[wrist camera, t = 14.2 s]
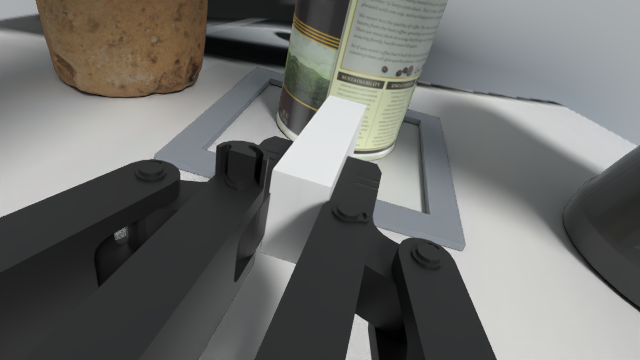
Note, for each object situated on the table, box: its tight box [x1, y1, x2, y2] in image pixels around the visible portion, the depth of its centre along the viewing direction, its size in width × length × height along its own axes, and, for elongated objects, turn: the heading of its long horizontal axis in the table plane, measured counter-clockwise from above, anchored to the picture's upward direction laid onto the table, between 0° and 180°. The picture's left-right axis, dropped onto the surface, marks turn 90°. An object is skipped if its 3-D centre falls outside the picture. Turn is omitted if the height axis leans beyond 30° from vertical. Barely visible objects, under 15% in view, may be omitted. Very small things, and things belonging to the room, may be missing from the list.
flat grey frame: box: [155, 67, 466, 251], centre depth 30 cm, size 19×19×1 cm
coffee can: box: [276, 0, 448, 161], centre depth 28 cm, size 10×10×14 cm
